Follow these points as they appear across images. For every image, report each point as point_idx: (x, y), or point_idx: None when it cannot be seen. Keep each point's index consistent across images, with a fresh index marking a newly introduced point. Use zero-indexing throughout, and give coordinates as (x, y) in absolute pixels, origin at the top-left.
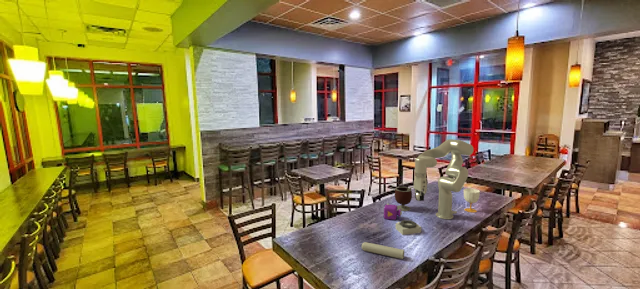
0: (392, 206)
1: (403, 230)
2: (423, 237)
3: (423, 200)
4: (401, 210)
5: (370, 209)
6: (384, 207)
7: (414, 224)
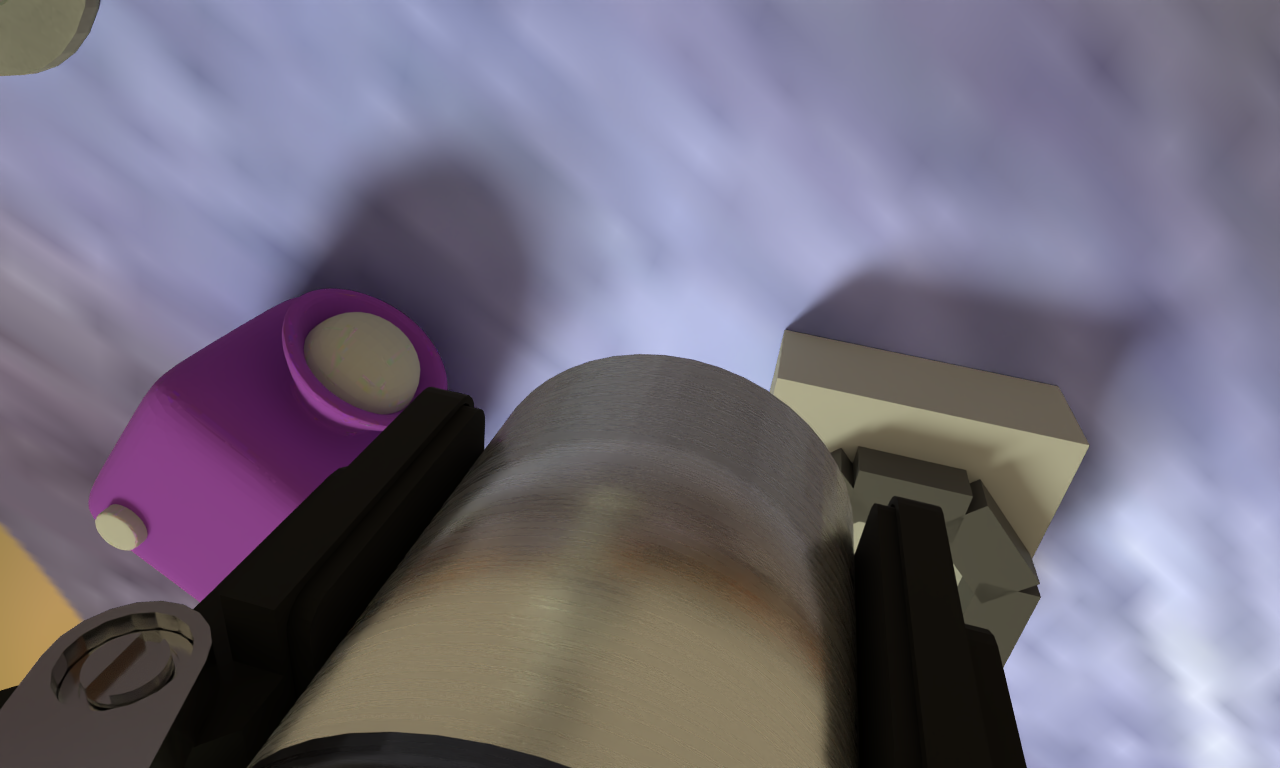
0: (235, 528)
1: None
2: (1219, 482)
3: (930, 521)
4: (78, 32)
5: (34, 456)
6: None
7: (992, 559)
